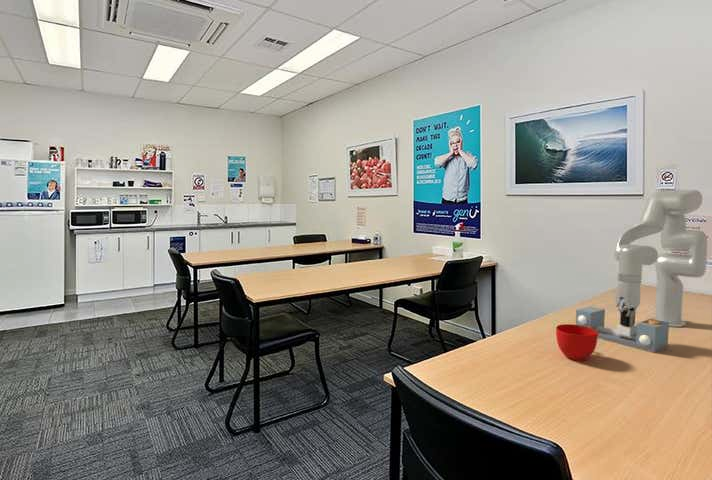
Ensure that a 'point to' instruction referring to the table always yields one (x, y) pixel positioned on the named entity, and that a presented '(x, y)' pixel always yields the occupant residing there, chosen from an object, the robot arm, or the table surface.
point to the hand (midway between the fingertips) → (627, 324)
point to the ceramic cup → (576, 341)
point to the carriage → (627, 327)
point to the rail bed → (645, 338)
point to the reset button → (653, 321)
